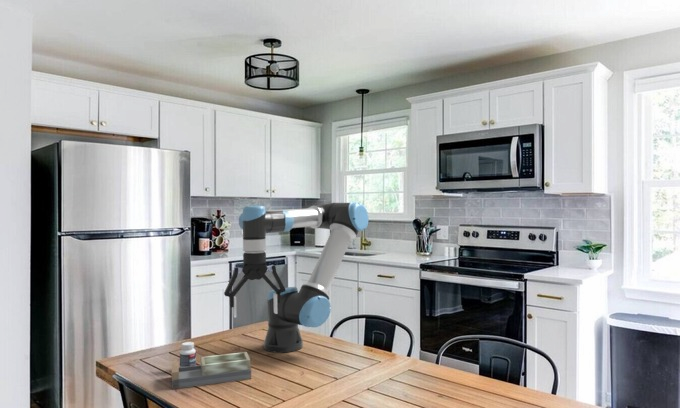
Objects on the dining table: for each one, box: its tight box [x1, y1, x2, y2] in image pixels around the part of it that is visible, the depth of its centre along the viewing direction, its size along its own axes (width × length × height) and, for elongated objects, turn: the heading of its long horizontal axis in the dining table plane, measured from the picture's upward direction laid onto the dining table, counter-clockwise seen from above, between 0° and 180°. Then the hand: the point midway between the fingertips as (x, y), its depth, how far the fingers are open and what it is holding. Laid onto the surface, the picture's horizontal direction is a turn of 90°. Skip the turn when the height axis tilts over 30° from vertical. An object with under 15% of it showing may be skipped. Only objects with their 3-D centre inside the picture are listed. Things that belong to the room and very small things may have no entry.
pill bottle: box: [179, 341, 197, 368], centre depth 160 cm, size 5×5×9 cm
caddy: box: [200, 351, 252, 376], centre depth 154 cm, size 15×9×4 cm, turn 109°
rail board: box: [171, 360, 252, 390], centre depth 152 cm, size 24×11×5 cm, turn 109°
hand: (255, 315), depth 158 cm, fingers open, 13 cm apart
